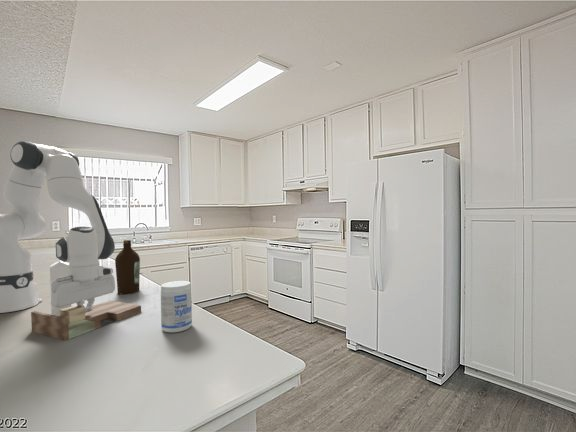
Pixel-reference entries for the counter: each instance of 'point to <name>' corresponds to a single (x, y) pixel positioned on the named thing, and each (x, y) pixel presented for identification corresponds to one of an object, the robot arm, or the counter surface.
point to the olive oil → (127, 269)
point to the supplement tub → (176, 306)
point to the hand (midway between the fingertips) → (86, 312)
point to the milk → (57, 271)
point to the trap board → (93, 320)
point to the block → (73, 313)
